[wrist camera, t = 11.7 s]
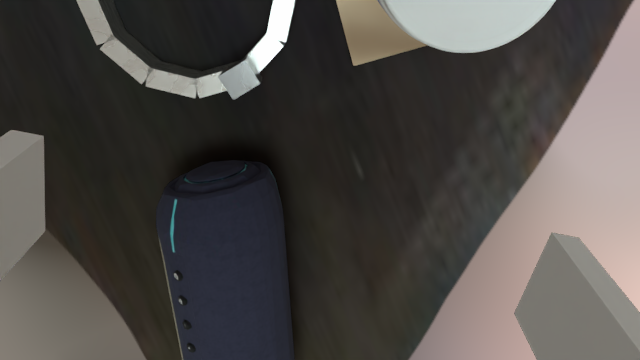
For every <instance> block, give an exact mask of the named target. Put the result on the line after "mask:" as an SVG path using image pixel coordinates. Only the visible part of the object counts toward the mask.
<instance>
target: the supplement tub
mask: <svg viewBox="0 0 640 360" xmlns="http://www.w3.org/2000/svg"><path fill="white" fill-rule="evenodd" d="M377 1H378V2H379V3H380V5H381V6H382V8H383V9H384V10H385V12H386V13H387V14H388V16H389V17H390V18H391V19H392V20H393V21H394V22H395V23H396V24H397V25H398V26H399V27H400V28H401V29H402V30H403V31H404V32H406V33H407V34H408V35H410V36H411V37H413V38H414V39H416V40H418V41H420V42H422V43H424V44H426V45H429V46H431V47H434V48H437V49H440V50H443V51H448V52H456V53H474V52H480V51H485V50H489V49H493V48H496V47H499V46H501V45H504V44H506V43H508V42H510V41H512V40H514V39H516V38H517V37H519V36H521V35H522V34H523V33H525V32H526V31H528V30H529V29H530V28H531V27H533V26H534V25H535V24H536V23H537V22H538V21H539V20H540V19H541V18H542V17H543V16H544V15H545V14H546V13H547V12H548V10H549V9H550V8H551V7H552V5H553V4H554V2H555V1H556V0H377Z"/></svg>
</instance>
